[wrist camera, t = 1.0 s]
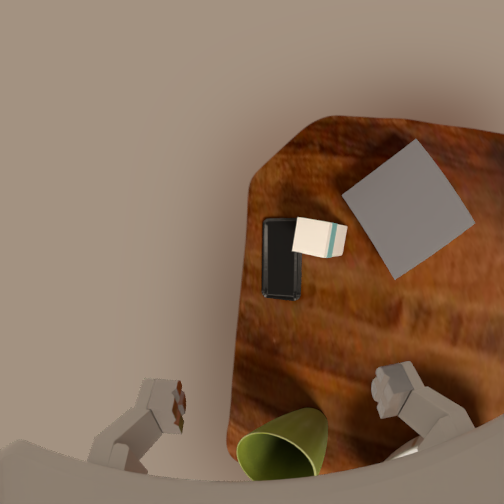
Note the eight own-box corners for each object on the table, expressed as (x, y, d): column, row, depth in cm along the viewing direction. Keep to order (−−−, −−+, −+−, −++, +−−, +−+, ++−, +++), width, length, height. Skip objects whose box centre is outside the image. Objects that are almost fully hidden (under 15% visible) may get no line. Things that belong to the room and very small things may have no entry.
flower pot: (359, 436, 47) (332, 487, 33) (303, 456, 53) (266, 500, 40) (320, 380, 52) (282, 421, 38) (267, 407, 58) (222, 443, 45)
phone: (261, 297, 57) (262, 218, 57) (264, 296, 58) (265, 219, 58) (299, 301, 53) (301, 217, 52) (301, 300, 54) (303, 218, 53)
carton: (347, 225, 49) (330, 222, 40) (342, 255, 49) (323, 258, 41) (320, 221, 51) (297, 216, 43) (315, 249, 52) (291, 251, 44)
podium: (417, 148, 41) (416, 138, 37) (469, 225, 37) (475, 223, 33) (349, 199, 48) (341, 195, 44) (397, 276, 44) (394, 279, 40)
